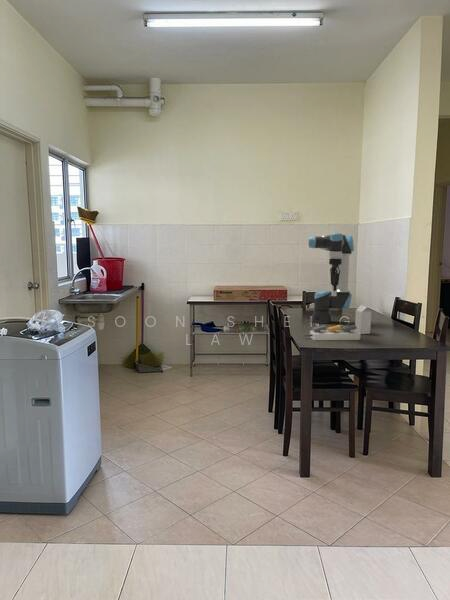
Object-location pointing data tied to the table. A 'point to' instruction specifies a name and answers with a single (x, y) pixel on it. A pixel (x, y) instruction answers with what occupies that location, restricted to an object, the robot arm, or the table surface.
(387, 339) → the table surface
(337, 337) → the power strip
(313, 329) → the rocker
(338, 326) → the rocker mid
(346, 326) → the rocker
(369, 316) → the milk carton
